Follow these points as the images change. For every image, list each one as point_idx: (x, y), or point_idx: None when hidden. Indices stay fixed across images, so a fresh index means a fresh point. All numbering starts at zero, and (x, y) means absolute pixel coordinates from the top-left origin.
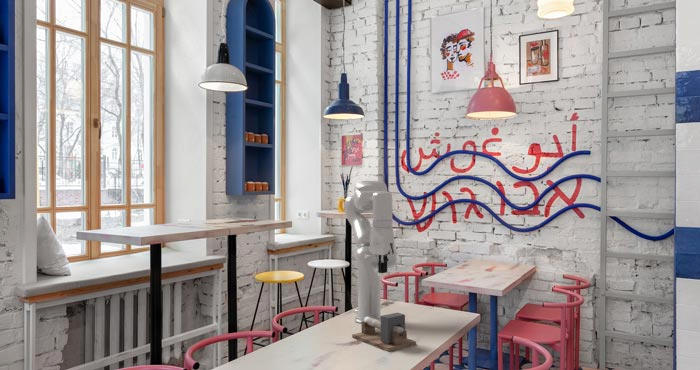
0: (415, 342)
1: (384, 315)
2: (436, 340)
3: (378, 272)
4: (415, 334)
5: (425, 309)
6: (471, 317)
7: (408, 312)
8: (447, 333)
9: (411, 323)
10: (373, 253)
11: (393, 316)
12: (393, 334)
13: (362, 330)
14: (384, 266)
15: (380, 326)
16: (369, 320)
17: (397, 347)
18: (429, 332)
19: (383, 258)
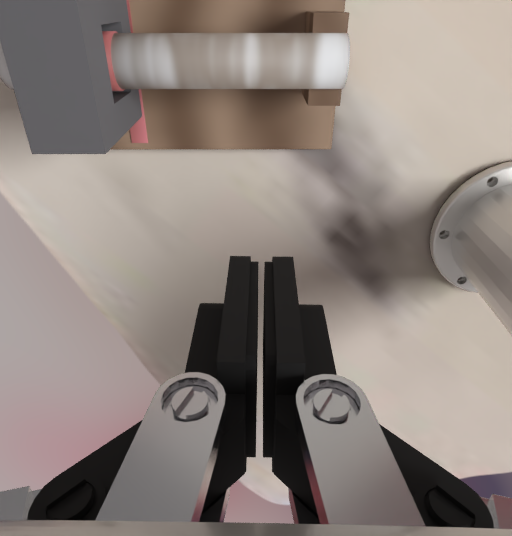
0: None
1: (69, 13)
2: (87, 253)
3: (292, 258)
4: (200, 245)
5: None
6: (250, 481)
7: (449, 404)
8: (145, 335)
9: (332, 327)
10: (509, 532)
11: (13, 51)
12: None
13: (330, 11)
14: (191, 356)
15: (170, 33)
16: (289, 39)
17: None
18: (191, 300)
19: (128, 466)
